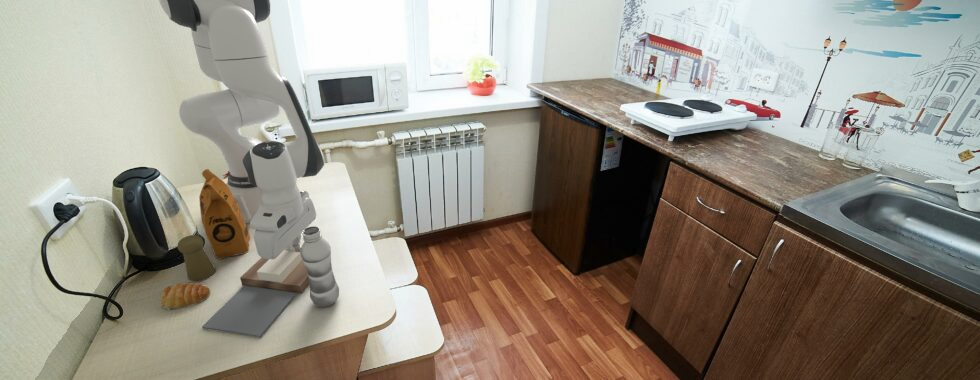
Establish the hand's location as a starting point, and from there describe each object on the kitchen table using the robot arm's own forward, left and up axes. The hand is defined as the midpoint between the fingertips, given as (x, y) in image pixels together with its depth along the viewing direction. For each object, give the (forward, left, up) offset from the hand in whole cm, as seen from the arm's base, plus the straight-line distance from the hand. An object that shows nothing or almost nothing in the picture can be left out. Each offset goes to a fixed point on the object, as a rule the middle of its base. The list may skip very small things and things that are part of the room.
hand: (294, 251), depth 109 cm
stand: (0, -4, -4) cm, 5 cm away
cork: (-21, -9, -4) cm, 23 cm away
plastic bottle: (+15, -12, -4) cm, 19 cm away
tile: (0, -6, -1) cm, 6 cm away
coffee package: (-22, +3, -4) cm, 23 cm away
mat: (0, -18, -4) cm, 18 cm away
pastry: (-18, -17, -4) cm, 26 cm away
